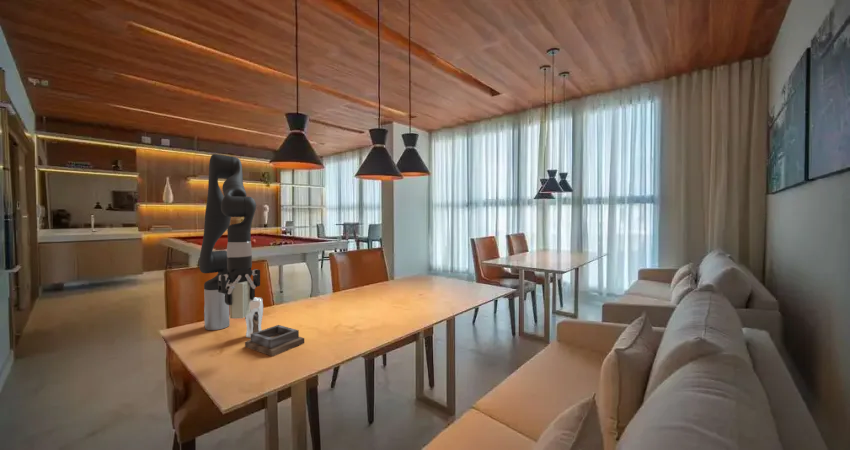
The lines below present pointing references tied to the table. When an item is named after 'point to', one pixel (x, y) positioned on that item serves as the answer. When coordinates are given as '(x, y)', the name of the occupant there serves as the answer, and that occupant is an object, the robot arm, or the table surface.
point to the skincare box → (240, 300)
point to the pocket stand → (274, 340)
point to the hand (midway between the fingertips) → (240, 301)
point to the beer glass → (254, 316)
